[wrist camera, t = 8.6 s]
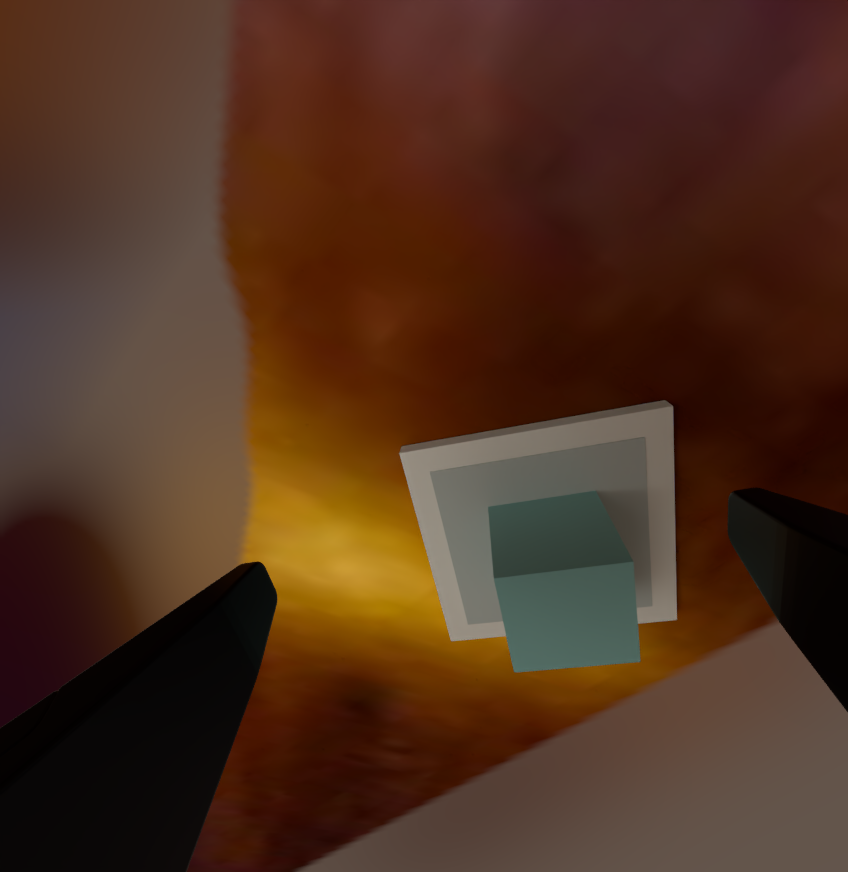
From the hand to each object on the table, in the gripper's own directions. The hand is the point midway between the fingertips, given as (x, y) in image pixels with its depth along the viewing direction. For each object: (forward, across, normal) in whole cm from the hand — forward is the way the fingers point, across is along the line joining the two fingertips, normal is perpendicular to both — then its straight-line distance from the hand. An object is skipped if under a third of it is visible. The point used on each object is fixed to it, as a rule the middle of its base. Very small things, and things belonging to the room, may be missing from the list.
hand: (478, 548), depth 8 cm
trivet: (+12, -2, +9) cm, 15 cm away
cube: (+11, -2, +9) cm, 14 cm away
